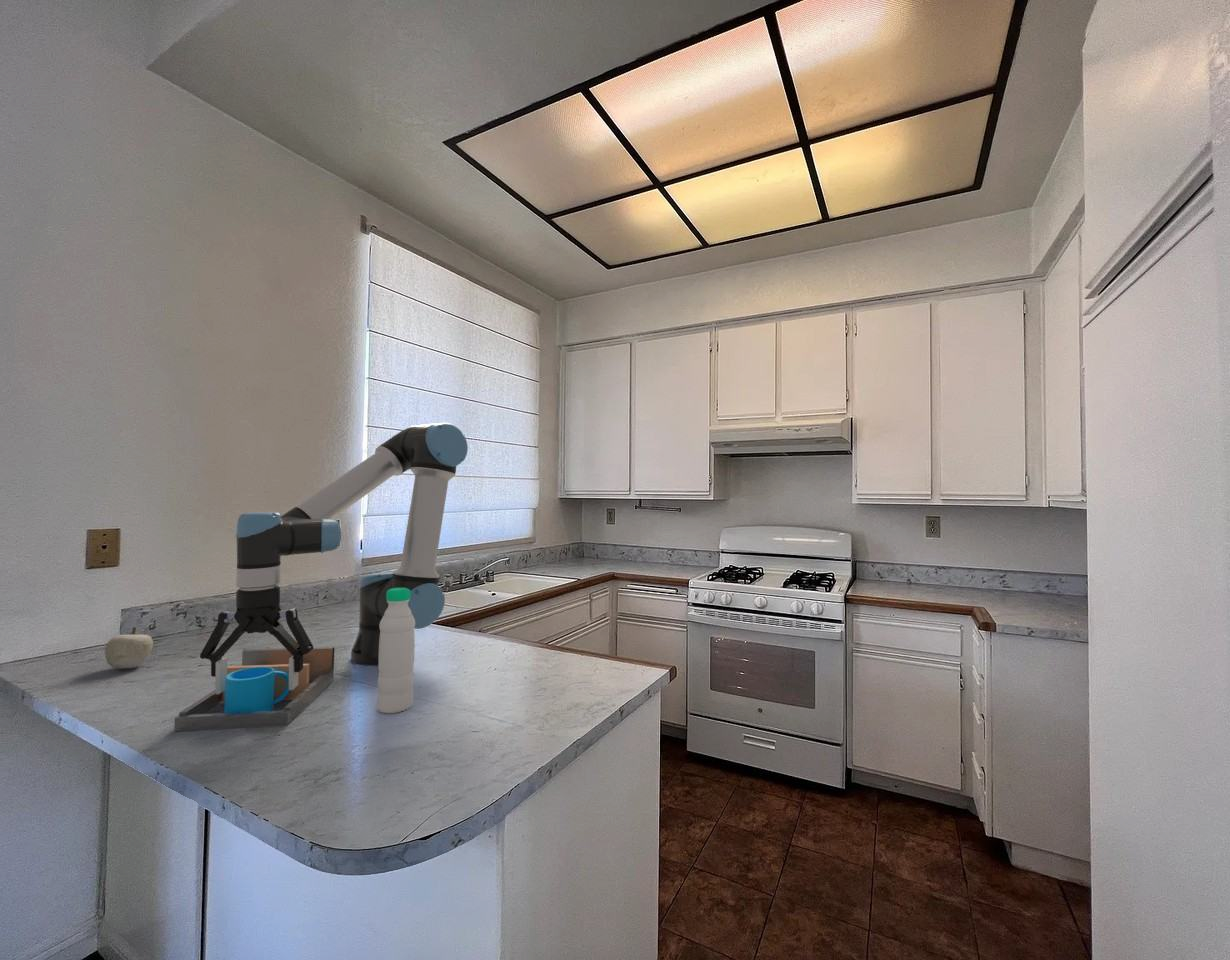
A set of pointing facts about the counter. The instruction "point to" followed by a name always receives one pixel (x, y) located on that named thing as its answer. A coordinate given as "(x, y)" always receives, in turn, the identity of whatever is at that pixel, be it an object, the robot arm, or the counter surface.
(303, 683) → the pusher
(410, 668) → the water bottle
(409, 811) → the counter surface
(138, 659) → the decorative object
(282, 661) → the lane
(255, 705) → the mug
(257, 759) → the counter surface
